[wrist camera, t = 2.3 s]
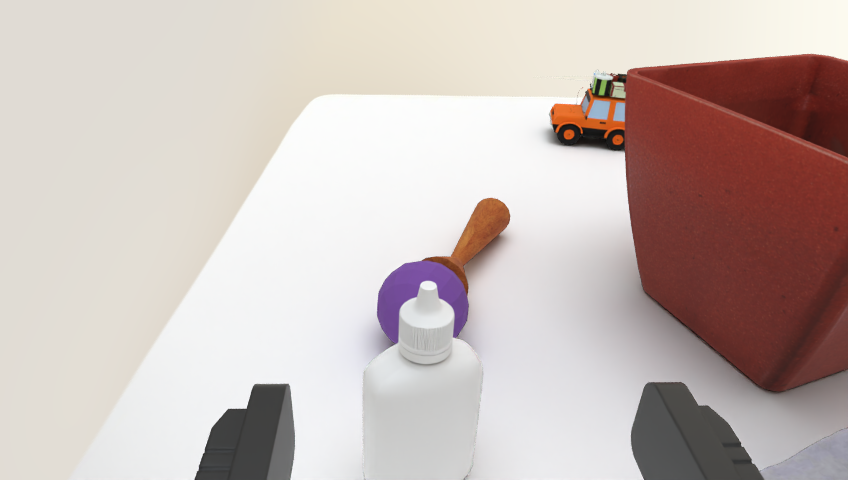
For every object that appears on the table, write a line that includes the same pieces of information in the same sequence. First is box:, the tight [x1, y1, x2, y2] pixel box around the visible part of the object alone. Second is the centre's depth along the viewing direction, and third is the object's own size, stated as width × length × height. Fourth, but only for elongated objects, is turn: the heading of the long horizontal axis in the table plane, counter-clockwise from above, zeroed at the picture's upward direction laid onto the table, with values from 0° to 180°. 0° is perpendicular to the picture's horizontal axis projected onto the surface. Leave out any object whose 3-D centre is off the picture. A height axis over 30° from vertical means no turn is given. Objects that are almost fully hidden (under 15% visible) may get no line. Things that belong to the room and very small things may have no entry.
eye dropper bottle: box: [363, 281, 483, 480], centre depth 28 cm, size 4×6×12 cm
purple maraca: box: [377, 198, 510, 344], centre depth 45 cm, size 6×6×20 cm
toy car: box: [549, 70, 627, 150], centre depth 74 cm, size 7×12×9 cm, turn 85°
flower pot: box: [625, 54, 848, 392], centre depth 40 cm, size 19×19×17 cm
